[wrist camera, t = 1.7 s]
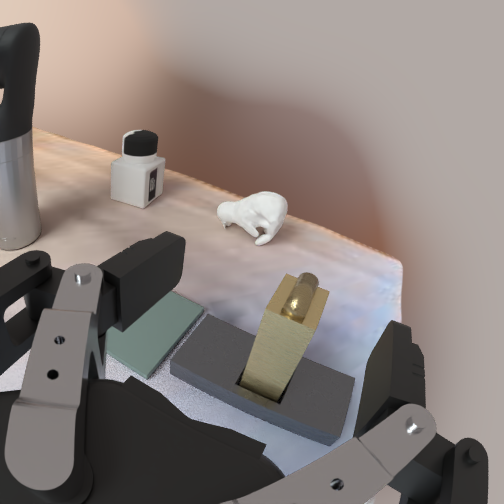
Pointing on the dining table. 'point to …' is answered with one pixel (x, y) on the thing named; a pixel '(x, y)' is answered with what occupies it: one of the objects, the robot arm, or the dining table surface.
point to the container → (138, 170)
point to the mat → (153, 334)
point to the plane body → (282, 415)
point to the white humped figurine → (255, 214)
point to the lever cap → (284, 335)
